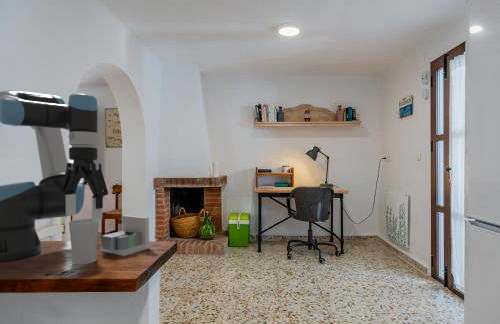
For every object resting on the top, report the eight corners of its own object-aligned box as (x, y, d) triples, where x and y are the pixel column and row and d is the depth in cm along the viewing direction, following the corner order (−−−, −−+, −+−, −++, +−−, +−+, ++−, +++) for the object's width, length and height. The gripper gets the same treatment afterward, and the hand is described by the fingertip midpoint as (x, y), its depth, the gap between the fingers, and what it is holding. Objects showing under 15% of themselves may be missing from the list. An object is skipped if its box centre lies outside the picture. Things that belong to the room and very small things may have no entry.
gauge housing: (100, 251, 103) (100, 219, 103) (126, 244, 111) (125, 215, 111) (123, 255, 97) (123, 222, 97) (149, 248, 105) (148, 217, 105)
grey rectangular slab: (101, 248, 99) (101, 233, 99) (123, 242, 106) (122, 228, 106) (116, 251, 95) (116, 235, 96) (137, 245, 102) (137, 230, 102)
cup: (86, 266, 87) (86, 223, 87) (62, 264, 89) (62, 223, 89) (105, 257, 95) (104, 218, 95) (82, 256, 97) (82, 218, 97)
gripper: (48, 147, 95) (48, 215, 96) (96, 145, 83) (97, 224, 83) (72, 147, 102) (72, 211, 102) (121, 146, 89) (121, 219, 89)
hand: (83, 217), depth 92 cm, fingers open, 13 cm apart
